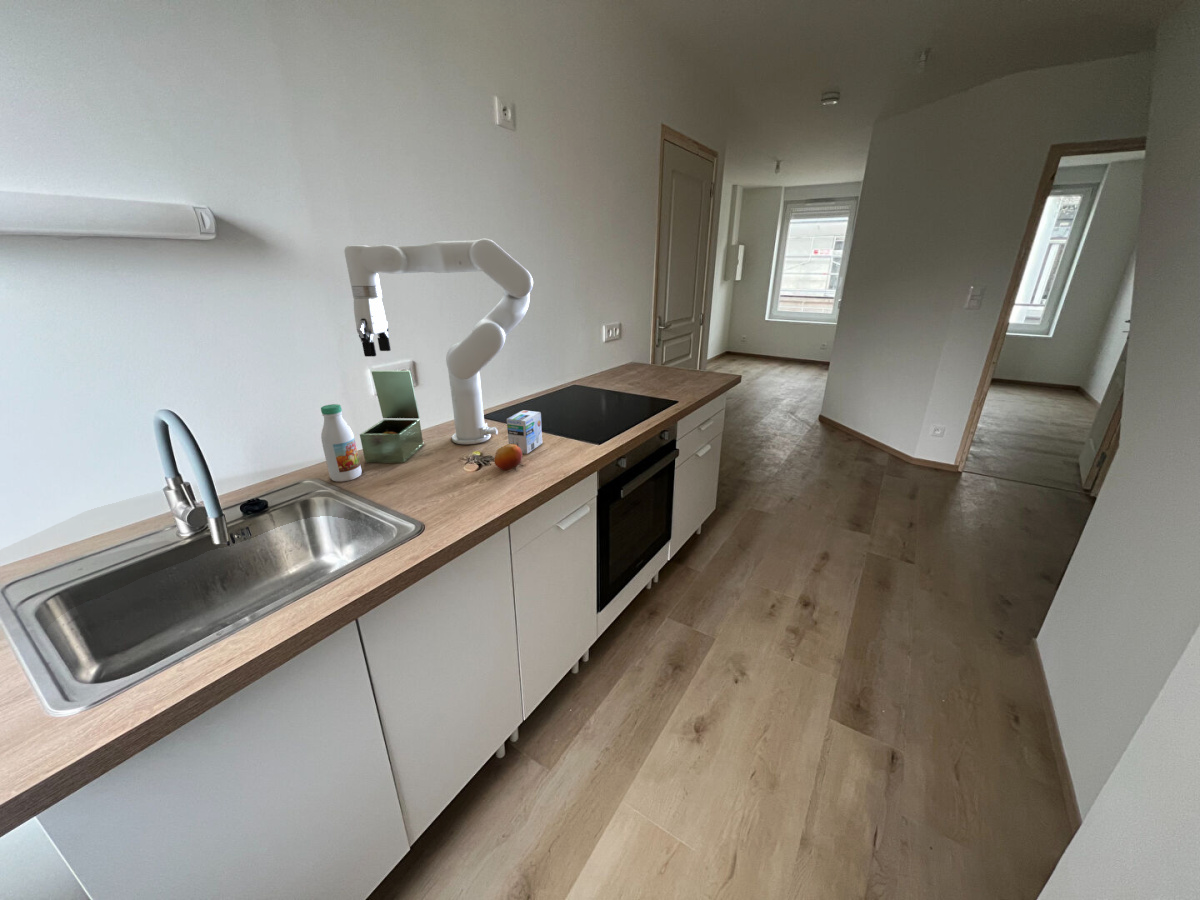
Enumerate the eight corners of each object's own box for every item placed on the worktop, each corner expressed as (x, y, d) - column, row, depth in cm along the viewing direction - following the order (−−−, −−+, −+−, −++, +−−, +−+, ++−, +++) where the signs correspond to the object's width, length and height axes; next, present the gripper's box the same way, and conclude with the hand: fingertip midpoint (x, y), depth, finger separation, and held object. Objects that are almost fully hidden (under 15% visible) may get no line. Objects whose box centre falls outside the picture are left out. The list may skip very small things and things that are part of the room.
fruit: (523, 469, 124) (507, 445, 122) (501, 481, 127) (485, 457, 125) (533, 458, 131) (518, 435, 130) (512, 469, 134) (497, 447, 132)
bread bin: (404, 462, 133) (399, 434, 130) (365, 462, 133) (359, 434, 130) (423, 445, 146) (419, 419, 143) (388, 445, 147) (383, 419, 143)
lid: (409, 371, 136) (415, 366, 140) (371, 371, 136) (378, 366, 140) (418, 418, 143) (424, 412, 147) (382, 418, 143) (389, 412, 147)
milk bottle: (329, 484, 119) (311, 411, 112) (332, 473, 126) (315, 404, 119) (361, 479, 122) (346, 408, 115) (363, 468, 129) (348, 400, 121)
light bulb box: (527, 454, 138) (525, 421, 135) (508, 451, 141) (505, 418, 137) (543, 443, 148) (541, 411, 144) (525, 440, 150) (522, 409, 146)
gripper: (368, 291, 136) (378, 349, 143) (337, 294, 120) (351, 358, 127) (393, 291, 137) (402, 348, 143) (366, 294, 120) (377, 358, 127)
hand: (378, 353), depth 135 cm, fingers open, 9 cm apart
